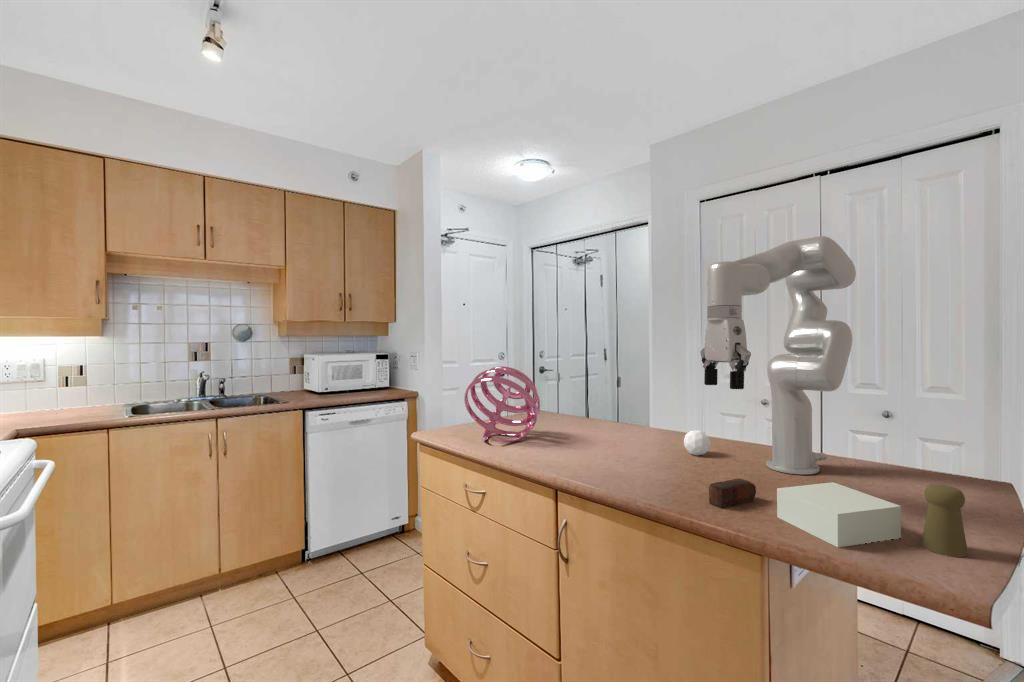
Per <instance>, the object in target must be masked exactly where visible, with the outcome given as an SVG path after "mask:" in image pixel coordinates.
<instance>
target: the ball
mask: <svg viewBox="0 0 1024 682" xmlns="http://www.w3.org/2000/svg"><path fill="white" fill-rule="evenodd" d="M711 444H712V442H711V440H710V436H708V435H707V433H706V432H704V431H702V430H699V429H695V430H690V431H688V432H687V433H686V434H685V436H684V439H683V446H684V448H685V450H686V451H687V452H688V453H689V454H691V455H694V456H701V455H705V454H706V453H708V452H709V450H710V448H711Z"/></svg>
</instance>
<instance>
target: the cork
mask: <svg viewBox="0 0 1024 682" xmlns="http://www.w3.org/2000/svg"><path fill="white" fill-rule="evenodd" d="M923 493H924V498H925V500H926V502H927V503H928V505H927V509H926V510H927V511H926V515H925V522H924V527H923V533H922V537H921V543H920V545H921V546H922V548H924V549H925V550H927V549H928V551H929V550H930V552H931V553H934V552H935V553H934V554H937V553H939V554H938V555H941V554H942V555H941V556H945V555H947V556H946V557H950V556H951V558H966V556H967V557H968V556H969V552H968V545H967V539H966V534H965V528H964V522H963V516H962V510H961V509H962V508H963V507H964V506H965V503H966V497H965V495H964V493H963V491H961V490H960V489H958V488H956V487H954V486H950V485H946V484H938V483H937V484H930V485H928V486H926V487H925V489H924V492H923Z"/></svg>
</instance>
